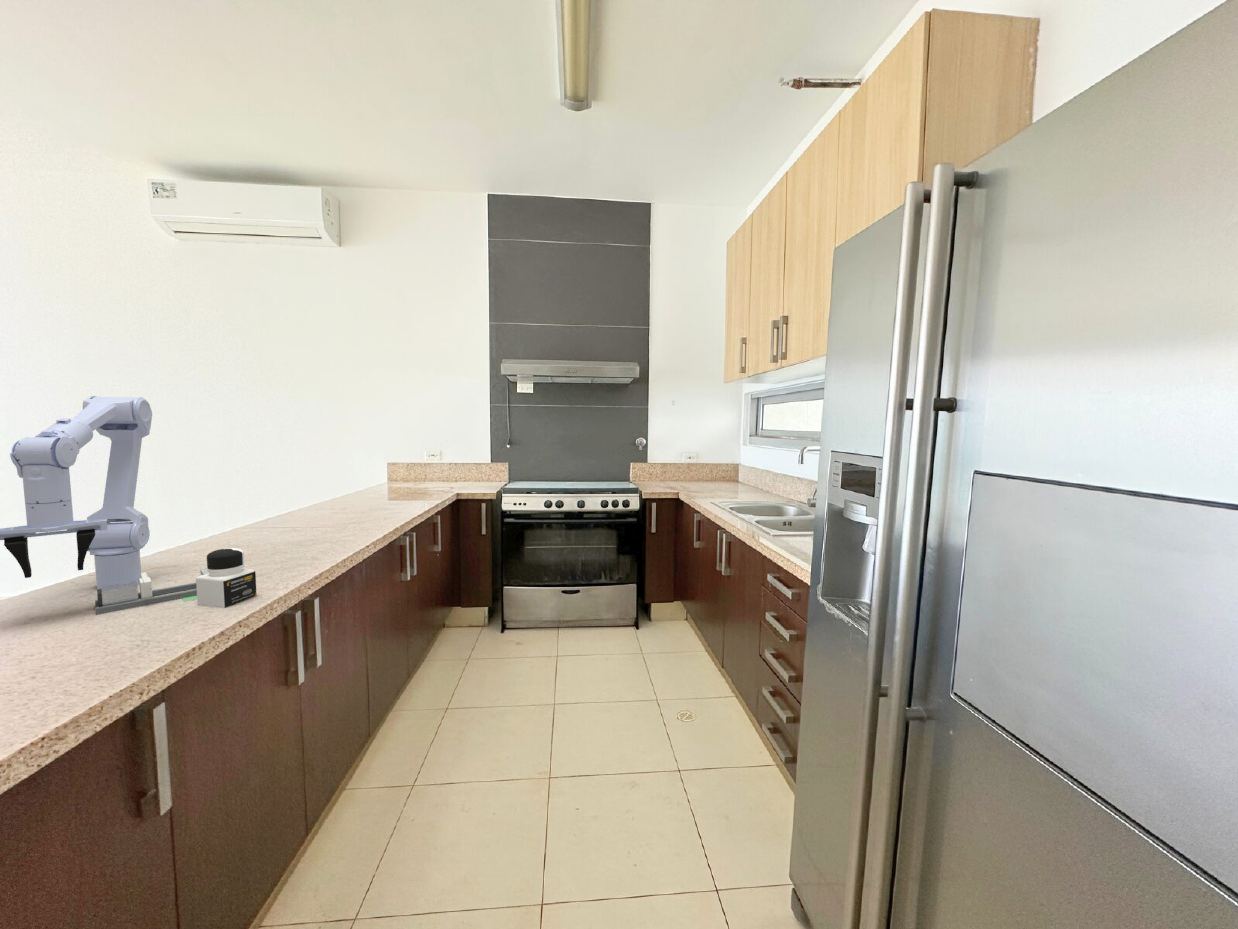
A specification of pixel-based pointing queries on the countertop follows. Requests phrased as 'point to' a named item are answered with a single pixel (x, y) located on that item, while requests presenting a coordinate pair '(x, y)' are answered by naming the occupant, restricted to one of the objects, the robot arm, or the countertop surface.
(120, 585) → the grey rail carriage
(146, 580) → the off-white rectangular block
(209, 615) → the countertop surface
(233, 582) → the medicine bottle
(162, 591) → the gauge board
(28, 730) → the countertop surface
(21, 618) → the countertop surface
